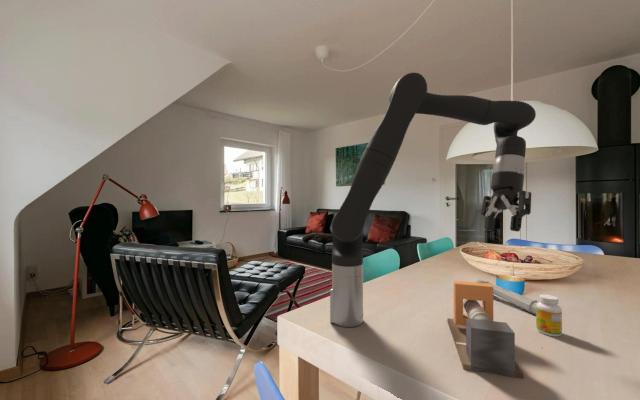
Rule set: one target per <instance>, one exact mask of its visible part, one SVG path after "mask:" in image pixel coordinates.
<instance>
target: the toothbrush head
mask: <svg viewBox="0 0 640 400" xmlns="http://www.w3.org/2000/svg"><path fill="white" fill-rule="evenodd" d="M476 283H489V284H491V285H492V286H493V295H495V296H497V297H499V298H502V299H503V300H504V301H507V302H508V303H511V304H513V305H514V306H517V307H519V308H521V309H523V310H525V311H526V312H528V313H529V314H532V315H535V316H536V305H537V303H539V302H540V301H538V300H537V299H531V298H529V297H528V296H527V297H526V296H524V295H521V294H519V293H517V292H515V291H514V292H513V291H511V290H509V289H507V288H504V287H502V286H498V285H496V284H493V283H491V282H489V280H488V279H486V278H483V277H478V278H477V279H476Z"/></svg>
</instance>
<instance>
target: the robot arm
mask: <svg viewBox="0 0 640 400" xmlns="http://www.w3.org/2000/svg"><path fill="white" fill-rule="evenodd" d="M388 99H389V105H388V107H387V110H386V112H385V114H384V116H383V117H382V118H383V119H382V120H381V122H380V123H379V124H378V126H377V128H376V129H375V131H374V132H373V134H372V135H371V137H370V139H369V142H368V143H367V144H366V146H365V149H364V151H363V152H362V155H361V156H360V160H359V163H358V165H357V167H356V170H355V173H354V176H353V179H352V182H351V185H350V187H349V188H350V189H349V191H348V193H347V195H346V197H345V198H344V201H343V202H342V204H341V206H340V207H339V209H338V211H337V212H336V213H335V215H334V217H333V218H332V220H331V232H332V250H331V251H332V252H331V289H329V290H330V291H329V297H330V298H329V308H330V309H329V313H330V314H329V320H330V321H329V322H330V323H333V324H335V325H337V326H340V327H345V328H353V327H358V326H360V325H362V324H363V323H364V251H363V247H364V246H363V238H364V237H363V231H364V227H365V224H366V221H367V218H368V215H369V213H370V209H371V207H372V205H373V202H374V200H375V199H376V196H377V195H378V194H379V192H380V190H381V188H382V186H383V185H384V183H385V182H386V180H387V178H388V175H390V172H391V169H392V168H393V165H394V164H395V161H396V159H397V156H398V154H399V151H400V149H401V147H402V145H403V142H404V140H405V136H406V134H407V131H408V129H409V126H410V124H411V122H412V121H413V119H414V117H415V115H416V114H417V115H418V114H419V115H429V116H437V117H443V118H449V119H454V120H458V121H463V122H467V123H471V124H476V125H479V126H488V125H492V124H493V133H494V138H495V139H494V140H495V143H496V148H495V156H494V161H493V166H492V174H491V180H490V181H491V182H490V189H491V190H492V195H491V196H490V195H483V200H482V205H481V210H480V211H481V213H480V215H482V216H483V217H486V220H485V230H486V231H490V232H494V231H495V227H496V219H497V218H496V217H497V216H498V214H499V213H501V212H502V211H506V210H509V211H510V213H511V216H510V217H511V219H510V226H509V230H510V231H512V232H520V231H521V228H522V224H523V223H522V222H523V221H522V220H523V217H525V216H526V215H530V214H531V212H532V210H531V209H532V192H531V191H527V190H524V184H525V183H524V181H525V174H526V173H525V170H526V162H525V161H526V159H525V158H526V149H527V142H526V139H525V138H524V137H521V136H518V133H519V131H520V130H522V129H524V128H527V127H528V126H530V125H531V124H532V123H534V122H533V121H534V120H535V119H536V115H537V114H536V112H537V111H536V110H535V108H534V107H533V106H532V105H531V104H529V103H527V102H524V101H521V100H491V99H486V98H482V97H478V96H473V95H464V94H461V95H460V94H459V95H458V94H455V95H452V94H448V95H447V94H436V93H431V92H428V83H427V81H426V78H425V77H424V76H423V75H422V74H421V73H419V72H408V73H406V74H405V75H404V74H403V76H401V77H399V79H398V80H396V83H395V84H394V85H393V87H392V89H391V90H390V92H389V98H388Z"/></svg>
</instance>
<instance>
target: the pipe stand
mask: <svg viewBox="0 0 640 400" xmlns="http://www.w3.org/2000/svg"><path fill="white" fill-rule="evenodd" d="M463 310H465V313H466V315H468V316H469V318H470V319H469V318H466V326H463V325H455V322H454V318H447V324H448V327H449V330H450V333H451V336H452V339H453V342H454V346H455V349H456V351H457V354H458V355H457V356H458V357H459V361H460V364H461V367H462V369H463V370H469V371H476V372H480V373H481V372H482V373H488V374H493V375H499V376H506V377H512V378H518V379H524V372H523V371H522V369H521V368H520V366H519V365H518V364H517V361H516V357H515V356H516V355H515V354H516V353H515V352H516V351H515V349H516V344H515V343H516V342H515V339H516V334H515V331H514V330H513V329H512V328H511V327H510V326H509V324H508V323H507V322H506V321H505V322H504V321H494V320H493V321H492V320H491V318H490V317H489V315H487V314H486V313H485V311H484V310H483V308H482V305H481V304H480V303H479V300H468V299H463Z"/></svg>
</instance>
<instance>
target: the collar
mask: <svg viewBox="0 0 640 400" xmlns="http://www.w3.org/2000/svg"><path fill="white" fill-rule="evenodd" d="M476 282H477V281H476ZM476 282H473V281H461V280H453V319H454V322H455V325H463V326H466V318H469V316H468V314H467V313H466V314H464V307H463V299H468V300H477V301H478V302H479V301H481V302H482V303H481V307H482V308H483V310H484V311H485V313H486V314H487V315H489V317H490V318H491V320H492V321H494V294H493V286H492V285H491V284H492V283H491V284H489V283H490V282H489V283H476ZM469 319H470V318H469Z"/></svg>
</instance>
